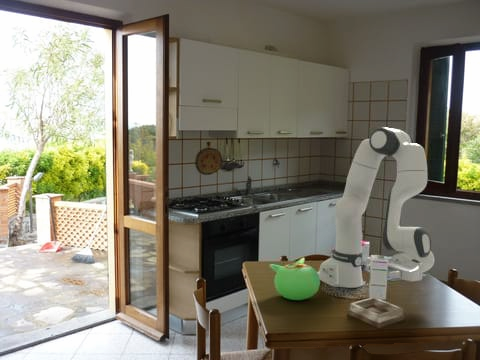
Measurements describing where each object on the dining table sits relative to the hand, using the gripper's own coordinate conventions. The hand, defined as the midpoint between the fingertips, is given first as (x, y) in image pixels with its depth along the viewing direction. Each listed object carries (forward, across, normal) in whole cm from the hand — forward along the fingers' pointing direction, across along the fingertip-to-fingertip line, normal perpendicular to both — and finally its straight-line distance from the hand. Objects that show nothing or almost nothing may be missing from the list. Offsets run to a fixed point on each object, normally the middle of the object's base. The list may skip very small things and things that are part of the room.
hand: (377, 271), depth 164 cm
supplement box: (-47, -46, +17) cm, 68 cm away
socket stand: (0, 0, +17) cm, 17 cm away
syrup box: (0, 0, +10) cm, 10 cm away
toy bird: (+12, -29, +17) cm, 36 cm away
